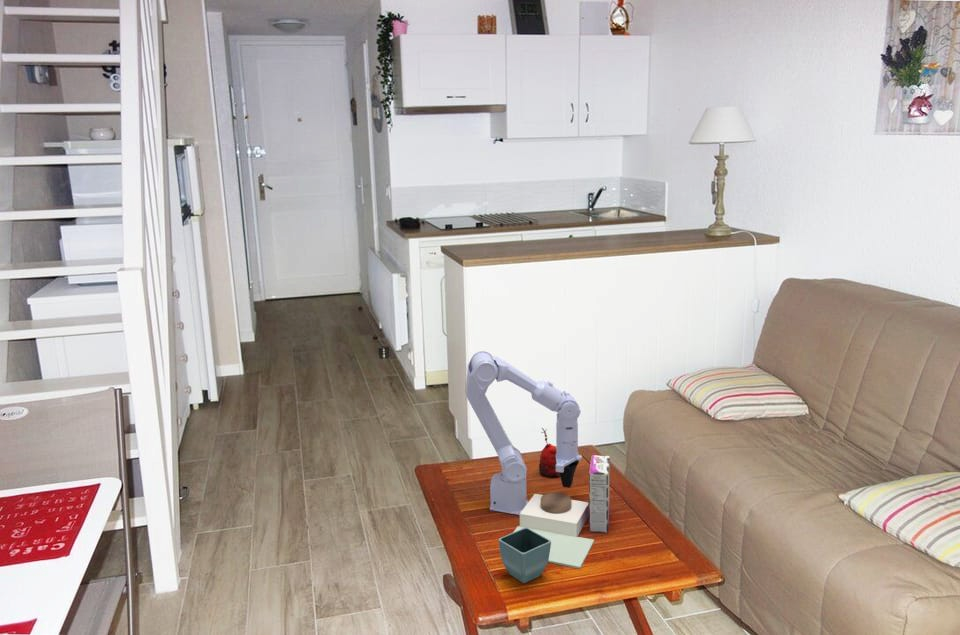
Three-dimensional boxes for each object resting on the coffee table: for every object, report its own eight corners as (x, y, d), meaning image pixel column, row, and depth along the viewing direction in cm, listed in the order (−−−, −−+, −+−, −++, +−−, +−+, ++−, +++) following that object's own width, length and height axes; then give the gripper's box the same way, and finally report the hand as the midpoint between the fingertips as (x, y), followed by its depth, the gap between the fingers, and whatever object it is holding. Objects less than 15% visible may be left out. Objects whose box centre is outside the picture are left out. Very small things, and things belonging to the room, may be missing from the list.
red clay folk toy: (566, 477, 219) (566, 429, 216) (543, 480, 218) (543, 432, 214) (557, 467, 227) (557, 420, 223) (535, 469, 225) (535, 423, 222)
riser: (519, 527, 191) (519, 513, 190) (534, 507, 202) (534, 493, 201) (576, 538, 185) (576, 523, 184) (588, 516, 196) (589, 502, 195)
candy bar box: (590, 511, 199) (591, 454, 195) (609, 512, 198) (610, 455, 194) (588, 532, 188) (588, 472, 184) (608, 533, 187) (609, 473, 183)
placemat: (499, 552, 179) (499, 550, 179) (518, 527, 191) (518, 525, 191) (580, 568, 172) (580, 566, 172) (594, 541, 183) (594, 539, 183)
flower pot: (526, 560, 176) (526, 526, 174) (552, 576, 169) (552, 540, 167) (498, 574, 170) (497, 538, 168) (523, 591, 164) (523, 554, 162)
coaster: (536, 510, 191) (536, 503, 191) (546, 497, 198) (546, 490, 198) (566, 515, 188) (566, 508, 188) (575, 502, 195) (575, 495, 195)
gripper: (574, 451, 191) (574, 500, 194) (588, 431, 204) (588, 477, 207) (547, 448, 194) (548, 496, 197) (563, 428, 207) (563, 473, 210)
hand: (567, 486), depth 202 cm, fingers closed
